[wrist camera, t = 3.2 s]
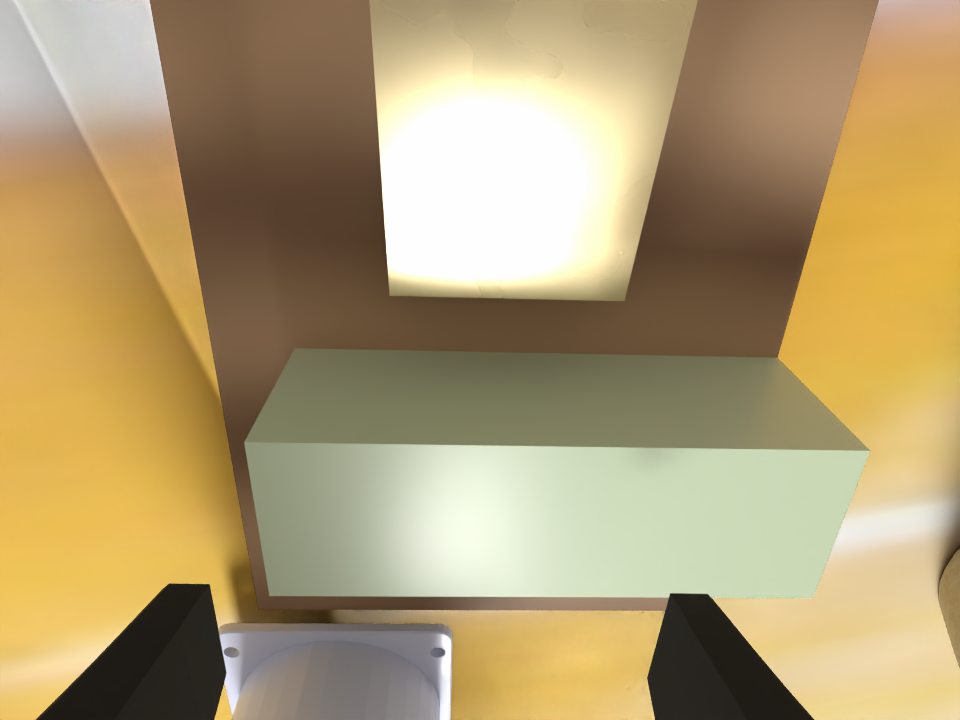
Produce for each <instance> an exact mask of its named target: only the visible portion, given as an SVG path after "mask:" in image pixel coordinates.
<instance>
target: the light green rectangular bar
mask: <svg viewBox="0 0 960 720" xmlns="http://www.w3.org/2000/svg"><path fill="white" fill-rule="evenodd" d="M244 444H245V450H246V456H247V462H248V468H249V475H250V481H251V487H252V493H253V499H254V505H255V511H256V517H257V523H258V529H259V535H260V541H261V547H262V554H263V560H264V566H265V572H266V578H267V584H268V590H269V596H393V597H647V598H669V596H670V593H689V594H708V595H709V596H710V597H711V598H813V597H814V594H815V592H816V589H817V586H818V584H819V581H820V579H821V576H822V574H823V571H824V568H825V566H826V563H827V561H828V558H829V556H830V553H831V550H832V548H833V545H834V543H835V540H836V538H837V535H838V532H839V530H840V527H841V525H842V522H843V520H844V517H845V514H846V512H847V509H848V507H849V504H850V502H851V499H852V496H853V494H854V491H855V489H856V486H857V484H858V481H859V478H860V476H861V473H862V471H863V468H864V466H865V463H866V460H867V458H868V455H869V453H870V450H869V449H868V448H867V447H866V446H865V445H864V444H863V443H862V442H861V441H860V440H859V439H858V438H857V437H856V436H855V435H854V434H853V433H852V432H851V431H850V430H849V429H848V428H847V427H846V426H845V425H844V424H843V423H842V422H841V421H840V420H839V419H838V418H837V417H836V416H835V415H834V414H833V413H832V412H831V411H830V410H829V409H828V408H827V407H826V406H825V405H824V404H823V403H822V402H821V401H820V400H819V399H818V398H817V397H816V396H815V395H814V394H813V393H812V392H811V391H810V390H809V389H808V388H807V387H806V386H805V385H804V384H803V383H802V382H801V381H800V380H799V379H798V378H797V377H796V376H795V375H794V374H793V373H792V372H791V371H790V370H789V369H788V368H787V367H786V366H785V365H784V364H783V363H782V362H781V361H780V360H779V359H778V358H766V357H715V356H665V355H614V354H564V353H513V352H462V351H412V350H361V349H311V348H295V349H294V351H293V353H292V354H291V356H290V358H289V360H288V362H287V364H286V366H285V367H284V369H283V371H282V373H281V375H280V377H279V379H278V380H277V382H276V384H275V386H274V388H273V390H272V392H271V393H270V395H269V397H268V399H267V401H266V403H265V405H264V406H263V408H262V410H261V412H260V414H259V416H258V418H257V419H256V421H255V423H254V425H253V427H252V429H251V431H250V432H249V434H248V436H247V438H246V440H245V442H244Z"/></svg>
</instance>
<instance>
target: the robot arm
mask: <svg viewBox="0 0 960 720" xmlns="http://www.w3.org/2000/svg"><path fill="white" fill-rule="evenodd" d="M436 647H439V648H436ZM647 679H648V685H649V690H650V695H651V700H652V706H653V711H654V716H655V720H814V719H813V718H812V717H811V715H810V714H809V713H808V712H807V711H806V710H805V709H804V708H803V706H802V705H801V704H800V703H799V702H798V701H797V700H796V698H795V697H794V696H793V695H792V694H791V693H790V692H789V690H788V689H787V688H786V687H785V686H784V685H783V683H782V682H781V681H780V680H779V679H778V678H777V676H776V675H775V674H774V673H773V672H772V670H771V669H770V668H769V667H768V666H767V664H766V663H765V662H764V661H763V660H762V658H761V657H760V656H759V655H758V654H757V652H756V651H755V650H754V649H753V648H752V646H751V645H750V644H749V643H748V642H747V640H746V639H745V638H744V637H743V636H742V634H741V633H740V632H739V631H738V629H737V628H736V627H735V626H734V625H733V623H732V622H731V621H730V620H729V618H728V617H727V616H726V615H725V614H724V612H723V611H722V610H721V609H720V608H719V606H718V605H717V604H716V603H715V602H714V600H713V599H712V598H711V597H710V596H709V595H708V594H689V593H670V596H669V599H668V603H667V607H666V611H665V614H664V618H663V622H662V625H661V629H660V633H659V636H658V640H657V644H656V648H655V651H654V655H653V659H652V662H651V666H650V670H649V674H648V677H647ZM451 682H452V630H451V629H450V628H449V627H448V626H445V625H443V624H344V623H230V624H225V625H223V626H221V627H220V628H219V629H218V626H217V621H216V615H215V610H214V605H213V600H212V595H211V589H210V584H168V585H167V586H166V587H165V588H163V589H162V590H161V591H160V592H159V594H158V595H157V596H156V597H155V598H154V599H153V600H152V601H151V602H150V603H149V604H148V605H147V606H146V607H145V608H144V609H143V610H142V611H141V612H140V614H139V615H138V616H137V617H136V618H135V619H134V620H133V621H132V622H131V623H130V624H129V625H128V626H127V627H126V628H125V629H124V630H123V632H122V633H121V634H120V635H119V636H118V637H117V638H116V639H115V640H114V641H113V642H112V643H111V644H110V645H109V646H108V647H107V648H106V649H105V650H104V651H103V652H102V653H101V654H100V656H99V657H98V658H97V659H96V660H95V661H94V662H93V663H92V664H91V665H90V666H89V667H88V668H87V669H86V670H85V671H84V672H83V673H82V674H81V675H80V676H79V677H78V678H77V679H76V680H75V681H74V682H73V683H72V684H71V685H70V686H69V687H68V688H67V689H66V690H65V691H64V692H63V693H62V694H61V695H60V696H59V697H58V698H57V699H56V700H55V701H54V702H53V703H52V704H51V705H50V706H49V707H48V708H47V709H46V710H45V711H44V712H43V713H42V714H41V715H40V716H39V717H38V718H37V719H36V720H214V718H215V715H216V711H217V707H218V704H219V700H220V696H221V692H222V689H223V685H224V683H225V687H226V691H227V696H228V700H229V704H230V709H231V713H232V719H231V720H451Z"/></svg>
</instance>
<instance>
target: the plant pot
mask: <svg viewBox="0 0 960 720" xmlns="http://www.w3.org/2000/svg"><path fill="white" fill-rule="evenodd" d="M939 604H940V608H941V611H942V614H943V618H944V621H945V624H946V627H947V631H948V634H949V637H950V640H951V644H952V647H953V650H954V653H955V656H956V659H957V662H958V665H959V668H960V548H959V549H958V550H957V552H956V553H955V554H954V555H953V557H952V559H951V560H950V562H949V563H948V565H947V566H946V568H945V570H944V572H943V575H942V578H941V580H940V584H939Z"/></svg>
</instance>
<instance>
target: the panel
mask: <svg viewBox="0 0 960 720" xmlns="http://www.w3.org/2000/svg"><path fill="white" fill-rule="evenodd" d="M878 1H879V0H698V2H697V6H696V10H695V14H694V18H693V22H692V26H691V30H690V34H689V38H688V43H687V47H686V51H685V55H684V59H683V63H682V67H681V71H680V75H679V79H678V84H677V88H676V92H675V96H674V100H673V104H672V108H671V112H670V116H669V120H668V125H667V129H666V133H665V137H664V141H663V145H662V149H661V153H660V157H659V161H658V166H657V170H656V174H655V178H654V182H653V186H652V190H651V194H650V198H649V202H648V207H647V211H646V215H645V219H644V223H643V227H642V231H641V235H640V239H639V243H638V247H637V252H636V256H635V260H634V264H633V268H632V272H631V276H630V280H629V284H628V288H627V293H626V297H625V301H592V300H549V299H506V298H463V297H420V296H390V293H389V279H388V264H387V250H386V235H385V221H384V206H383V192H382V177H381V163H380V148H379V134H378V119H377V104H376V90H375V75H374V61H373V46H372V32H371V17H370V3H369V0H150V5H151V10H152V16H153V21H154V27H155V33H156V38H157V44H158V49H159V55H160V61H161V66H162V72H163V78H164V83H165V89H166V94H167V100H168V106H169V111H170V117H171V122H172V128H173V134H174V139H175V145H176V150H177V156H178V162H179V167H180V173H181V178H182V184H183V190H184V195H185V201H186V206H187V212H188V218H189V223H190V229H191V235H192V240H193V246H194V251H195V257H196V263H197V268H198V274H199V279H200V285H201V291H202V296H203V302H204V307H205V313H206V319H207V324H208V330H209V335H210V341H211V347H212V352H213V358H214V363H215V369H216V375H217V380H218V386H219V392H220V397H221V403H222V408H223V414H224V420H225V425H226V431H227V436H228V442H229V448H230V453H231V459H232V464H233V470H234V476H235V481H236V487H237V492H238V498H239V504H240V509H241V515H242V520H243V526H244V532H245V537H246V543H247V549H248V554H249V560H250V565H251V571H252V577H253V582H254V588H255V593H256V599H257V605H258V609H295V610H620V611H666V607H667V603H668V599H669V598H647V597H393V596H269V590H268V584H267V578H266V572H265V566H264V560H263V554H262V547H261V541H260V535H259V529H258V523H257V517H256V511H255V505H254V499H253V493H252V487H251V481H250V475H249V468H248V462H247V456H246V450H245V444H244V442H245V440H246V438H247V436H248V434H249V432H250V431H251V429H252V427H253V425H254V423H255V421H256V419H257V418H258V416H259V414H260V412H261V410H262V408H263V406H264V405H265V403H266V401H267V399H268V397H269V395H270V393H271V392H272V390H273V388H274V386H275V384H276V382H277V380H278V379H279V377H280V375H281V373H282V371H283V369H284V367H285V366H286V364H287V362H288V360H289V358H290V356H291V354H292V353H293V351H294V349H295V348H311V349H361V350H412V351H462V352H513V353H564V354H614V355H665V356H715V357H766V358H778V354H779V351H780V347H781V343H782V340H783V336H784V333H785V329H786V326H787V322H788V319H789V315H790V312H791V308H792V305H793V301H794V298H795V294H796V290H797V287H798V283H799V280H800V276H801V273H802V269H803V266H804V262H805V259H806V255H807V252H808V248H809V245H810V241H811V238H812V234H813V230H814V227H815V223H816V220H817V216H818V213H819V209H820V206H821V202H822V199H823V195H824V192H825V188H826V185H827V181H828V177H829V174H830V170H831V167H832V163H833V160H834V156H835V153H836V149H837V146H838V142H839V139H840V135H841V132H842V128H843V125H844V121H845V117H846V114H847V110H848V107H849V103H850V100H851V96H852V93H853V89H854V86H855V82H856V79H857V75H858V72H859V68H860V64H861V61H862V57H863V54H864V50H865V47H866V43H867V40H868V36H869V33H870V29H871V26H872V22H873V19H874V15H875V12H876V8H877V4H878Z"/></svg>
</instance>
